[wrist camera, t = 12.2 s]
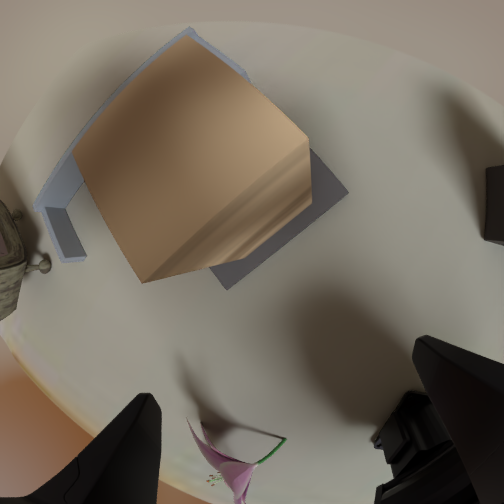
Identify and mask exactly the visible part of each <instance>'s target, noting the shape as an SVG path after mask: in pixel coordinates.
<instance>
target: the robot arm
mask: <svg viewBox="0 0 504 504" xmlns="http://www.w3.org/2000/svg"><path fill="white" fill-rule="evenodd" d="M412 360H413V363H414V365H415V367H416V370H417V372H418V374H419V376H420V379H421V381H422V383H423V385H424V388H425V390H426V392H427V393H423V392H417V391H408V392H407V393H406V394H405V395H404V397H403V398H402V400H401V402H400V403H399V405H398V407H397V408H396V410H395V412H393V413H392V415H391V416H390V418H389V419H388V421H387V423H386V424H385V426H384V427H383V429H382V430H381V431H380V433H379V436H378V437H377V439H376V440H375V442H374V448H375V449H381V450H383V451H384V455H385V459H386V462H387V464H390V465H391V469H392V473H393V477H394V479H393V480H391V481H389V482H387V483H385V484H382V485H380V486H378V487H377V488H376V495H375V501H374V504H504V364H502V363H499V362H497V361H494V360H491V359H489V358H486V357H483V356H481V355H478V354H475V353H473V352H470V351H468V350H465V349H462V348H460V347H457V346H455V345H452V344H449V343H447V342H444V341H442V340H439V339H436V338H434V337H431V336H429V335H424V336H421V337H419V338H417V339H416V341H415V345H414V349H413V354H412ZM411 395H412V396H411ZM409 396H411V397H410V398H408V397H409ZM161 425H162V412H161V408H160V406H159V405H158V403H157V402H156V400H155V398H154V397H153V395H152V394H151V393H139V394H138V395H137V396H136V397H135V398H134V399H133V400H132V401H131V402H130V403H129V404H128V405H127V406H126V407H125V408H124V409H123V410H122V411H121V412H120V413H119V414H118V415H117V416H116V417H115V418H114V419H113V420H112V421H111V422H110V423H109V424H108V425H107V426H106V427H105V428H104V429H103V430H102V431H101V432H100V433H99V434H98V435H97V436H96V437H95V438H94V439H93V440H92V441H91V442H90V443H89V444H88V446H86V447H85V449H83V451H81V452H80V453H79V454H78V457H75V458H74V459H73V460H72V461H71V462H70V463H69V464H68V465H67V466H66V467H65V468H64V469H62V470H61V471H60V472H59V473H58V474H57V475H55V476H54V477H53V478H52V479H51V480H49V481H48V482H46V483H45V484H44V485H42V486H41V487H40V488H38V489H37V490H36V491H34V492H33V493H31V494H29V495H27V496H24V497H0V504H156V502H157V489H158V478H159V468H160V459H161ZM380 443H381V444H380Z"/></svg>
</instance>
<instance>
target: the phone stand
mask: <svg viewBox="0 0 504 504" xmlns="http://www.w3.org/2000/svg"><path fill="white" fill-rule="evenodd" d="M486 172H487V210H486V227H485V239H484V240H485V241H489V242H492V243H496V244H499V245H503V246H504V165H501V166H495V167H488V168H486Z"/></svg>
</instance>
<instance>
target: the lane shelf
mask: <svg viewBox="0 0 504 504" xmlns="http://www.w3.org/2000/svg"><path fill="white" fill-rule="evenodd" d="M185 35H188V36H189V37H191V38H192V39H194V40H195V41H196V42H198V43H199V44H201V45H202V46H203V47H205V48H206V49H208V50H209V51H210V52H212V53H213V54H214V55H216V56H217V57H218V58H220V59H221V60H222V61H224V62H225V63H226V64H227V65H229V66H230V67H231V68H232V69H234V70H235V71H236V72H237V73H239V74H240V75H241V76H242V77H243V78H245V79H246V80H247V81H248V82H249V83H251V82H250V80H249V78H248V75H247V73H246V71H245V70H244V69H243V68H241V67H240V66H239V65H238V64H236V63H235V62H234V61H232V60H231V59H230V58H228V57H227V56H226V55H224V54H223V53H222V52H220V51H219V50H218V49H216V48H215V47H214V46H212V45H211V44H209V43H208V42H206V41H205V40H204V39H202V38H201V37H199V36H198V35H197V33H196V32H195V30H194V29H193V28H191V27H188V28H186V29H185V30H184V31H182V32H181V33H180V34H178V35H177V36H176V37H174V38H173V39H172V40H171V41H169V42H168V43H167V44H166V45H164V46H163V47H162V48H161V49H159V50H158V51H157V52H156V53H155V54H154V55H152V56H151V57H150V58H149V59H148V60H147V61H146V62H144V63H143V64H142V65H141V66H140V67H139V68H138V69H137V70H136V71H135V72H134V73H133V74H132V75H131V76H130V77H129V78H128V79H126V80H125V81H124V82H123V84H122V85H121V86H120V87H119V88H118V89H117V90H116V91H115V92H114V93H113V94H112V95H111V96H110V97H109V98H108V99H107V100H106V102H105V103H104V104H103V105H102V106H101V107H100V108H99V110H98V111H97V112H96V113H95V114H94V115H93V117H92V118H91V119H90V120H89V121H88V123H87V124H86V125H85V126H84V128H83V129H82V130H81V132H80V133H79V134H78V135H77V137H76V138H75V139H74V141H73V142H72V144H71V145H70V146H69V148H68V149H67V151H66V152H65V153H64V155H63V156H62V158H61V159H60V161H59V162H58V164H57V165H56V167H55V168H54V170H53V171H52V173H51V175H50V176H49V178H48V179H47V181H46V183H45V184H44V186H43V188H42V190H41V191H40V193H39V195H38V197H37V198H36V200H35V202H34V204H33V209H34V212H42V215H43V218H44V221H45V224H46V226H47V229H48V232H49V234H50V237H51V240H52V242H53V244H54V247H55V249H56V252H57V254H58V256H59V259H60V261H61V263H69V262H79V261H84V259H85V258H86V257H87V256H86V254H85V252H84V250H83V248H82V246H81V243H80V241H79V239H78V237H77V235H76V233H75V231H74V229H73V226H72V224H71V222H70V219H69V217H68V215H67V212H66V210H65V208H66V206H67V205H68V203H69V202H70V200H71V199H72V197H73V196H74V194H75V193H76V192H77V190H78V189H79V187H80V186H81V185H82V183H83V182H84V179H83V177H82V174H81V172H80V170H79V168H78V166H77V163H76V161H75V159H74V156H73V154H72V150H73V149H74V147H75V146H76V145H77V143H78V142H79V141H80V139H81V138H82V137H83V135H84V134H85V133H86V132H87V130H88V129H89V128H90V127H91V125H92V124H93V123H94V122H95V121H96V119H97V118H98V117H99V116H100V115H101V113H102V112H103V111H104V110H105V109H106V108H107V107H108V105H109V104H110V103H111V102H112V101H113V100H114V99H115V98H116V97H117V96H118V95H119V94H120V93H121V92H122V91H123V89H124V88H125V87H126V86H127V85H128V84H129V83H130V82H131V81H132V80H133V79H135V78H136V77H137V76H138V75H139V74H140V73H141V72H142V71H143V70H144V69H145V68H146V67H147V66H148V65H150V64H151V63H152V62H153V61H154V60H155V59H156V58H158V57H159V56H160V55H161V54H162V53H163V52H165V51H166V50H167V49H168V48H170V47H171V46H172V45H173V44H175V43H176V42H177V41H178V40H180V39H181V38H182V37H184V36H185Z"/></svg>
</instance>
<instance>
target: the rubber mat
mask: <svg viewBox="0 0 504 504" xmlns="http://www.w3.org/2000/svg"><path fill="white" fill-rule="evenodd" d="M309 150H310V166H311V187H312V204H311V205H309V206H308V207H307V208H306V209H304V210H303V211H302V212H301V213H299V214H298V215H297V216H296V217H295V218H293V219H292V220H291V221H290V222H288V223H287V224H286V225H285V226H283V227H282V228H281V229H280V230H279V231H277V232H276V233H275V234H274V235H272V236H271V237H270V238H269V239H267V240H266V241H265V242H264V243H263V244H261V245H260V246H259V247H258V248H256V249H255V250H254V251H253V252H251V253H250V254H249V255H248V256H247V257H245V258H243V259H239V260H235V261H231V262H227V263H223V264H219V265H215V266H211V267H209V268H210V269H211V270H212V272H213V273H214V274H215V276H216V277H217V278H218V280H219V281H220V282H221V284H222V285H223V286H224V288H225V289H226V290H228V289H229V288H230V287H232V286H233V285H234V284H236V283H237V282H238V281H239V280H241V279H242V278H243V277H244V276H246V275H247V274H248V273H250V272H251V271H252V270H253V269H255V268H256V267H257V266H258V265H260V264H261V263H262V262H263V261H265V260H266V259H267V258H269V257H270V256H271V255H272V254H274V253H275V252H276V251H277V250H279V249H280V248H281V247H282V246H284V245H285V244H286V243H287V242H289V241H290V240H291V239H292V238H294V237H295V236H296V235H297V234H299V233H300V232H301V231H302V230H304V229H305V228H306V227H307V226H309V225H310V224H311V223H312V222H314V221H315V220H316V219H317V218H319V217H320V216H321V215H322V214H323V213H325V212H326V211H327V210H328V209H330V208H331V207H332V206H333V205H335V204H336V203H337V202H338V201H339V200H341V199H342V198H343V197H344V196H346V195H347V194H348V193H349V192H348V191H347V189H346V188H345V187H344V186H343V185H342V183H341V182H340V181H339V180H338V179H337V178H336V176H335V175H334V174H333V173H332V172H331V171H330V169H329V168H328V167H327V166H326V165H325V164H324V163H323V162H322V160H321V159H320V158H319V157H318V156H317V155H316V154H315V153H314V152H313V151H312V149H311V148H310V147H309Z"/></svg>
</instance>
